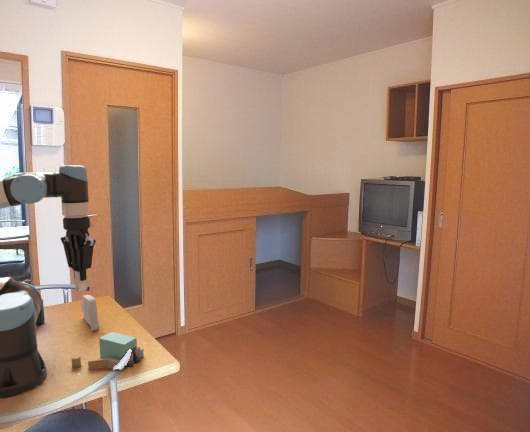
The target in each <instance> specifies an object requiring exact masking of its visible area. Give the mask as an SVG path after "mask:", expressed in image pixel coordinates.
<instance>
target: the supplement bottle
mask: <svg viewBox="0 0 530 432" xmlns="http://www.w3.org/2000/svg"><path fill="white" fill-rule="evenodd" d="M44 307H45V305H44V300H43V298H42V308H41V311H40V313H39V315H38V318H37V321H36V327H37V326H40V325H42V324H44V323H45V320H46V318H45V309H44Z"/></svg>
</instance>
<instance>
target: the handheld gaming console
mask: <svg viewBox="0 0 530 432" xmlns="http://www.w3.org/2000/svg"><path fill="white" fill-rule="evenodd" d="M81 300H82V301H81V302H82V303H81V310H82V312H83V318H84V320H85V322H86V323H87V324H88V325H89V327H90V331H91V332H92V331H96V330H99V321H98V320H99V319H98V309H97V308H98V307H97V300H96V298H95V297H94V296H93V295H89V294H84V295H82V296H81Z"/></svg>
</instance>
